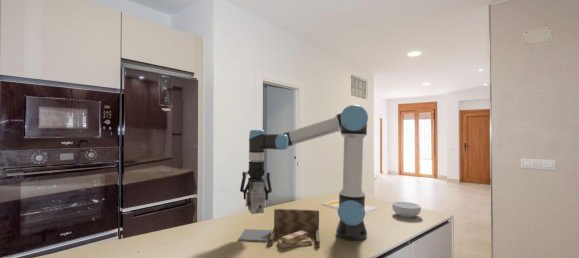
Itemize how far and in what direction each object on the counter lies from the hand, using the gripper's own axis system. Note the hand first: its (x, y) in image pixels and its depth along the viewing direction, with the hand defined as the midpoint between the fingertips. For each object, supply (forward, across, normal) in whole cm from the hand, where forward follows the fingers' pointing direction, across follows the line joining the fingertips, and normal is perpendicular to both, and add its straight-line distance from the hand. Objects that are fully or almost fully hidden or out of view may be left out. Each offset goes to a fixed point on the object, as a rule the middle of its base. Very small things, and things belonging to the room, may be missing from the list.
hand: (255, 206), depth 143 cm
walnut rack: (+15, -20, +2) cm, 25 cm away
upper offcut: (+13, -20, +8) cm, 25 cm away
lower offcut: (+15, -20, +8) cm, 27 cm away
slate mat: (+15, 0, 0) cm, 15 cm away
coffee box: (+3, 0, 0) cm, 3 cm away
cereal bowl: (+15, -87, -44) cm, 99 cm away
